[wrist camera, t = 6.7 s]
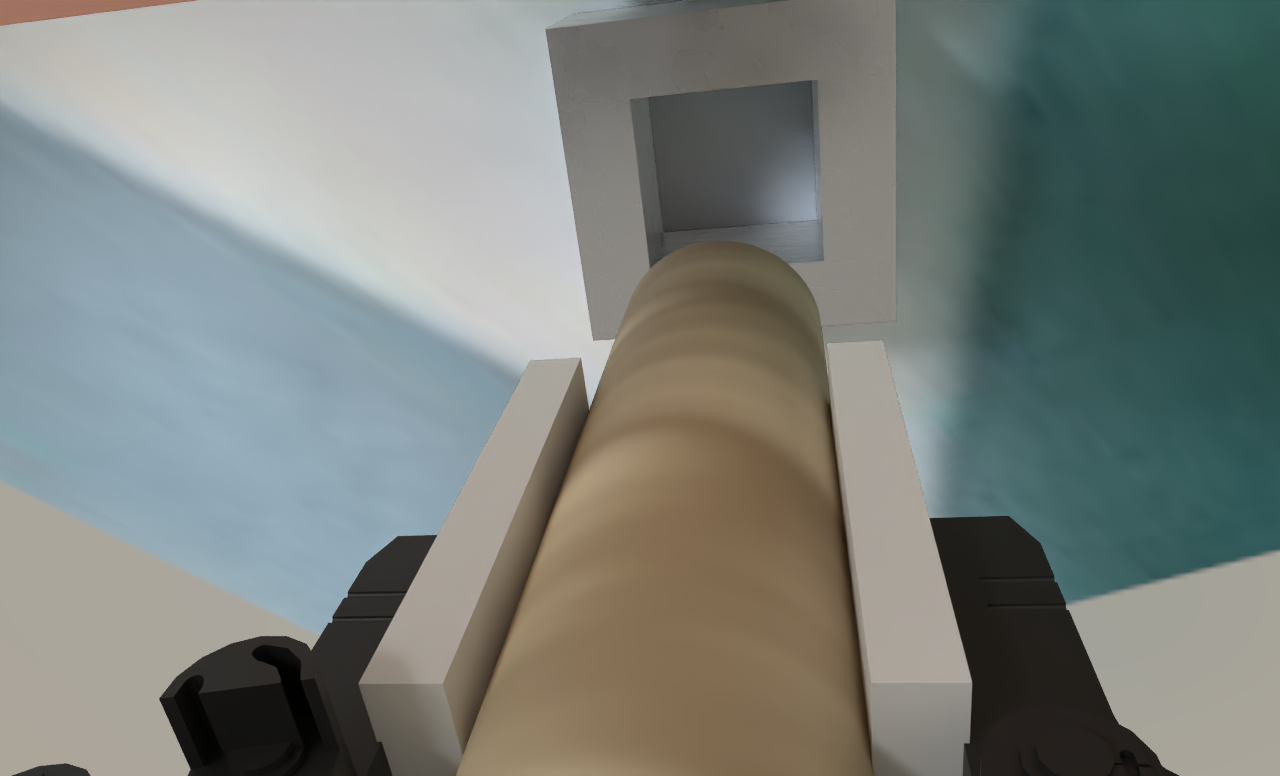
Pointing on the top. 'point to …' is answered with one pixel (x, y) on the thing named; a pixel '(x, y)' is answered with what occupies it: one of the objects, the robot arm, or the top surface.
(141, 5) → the pink-topped stool
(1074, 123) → the top surface
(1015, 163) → the top surface
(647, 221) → the socket
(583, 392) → the robot arm
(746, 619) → the peg
